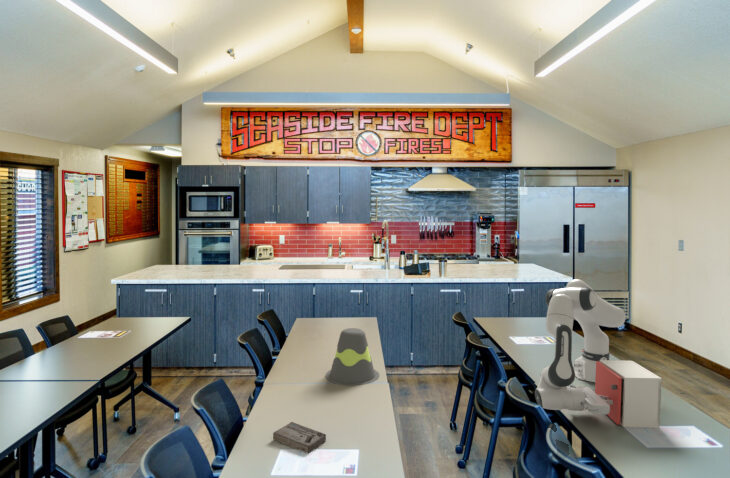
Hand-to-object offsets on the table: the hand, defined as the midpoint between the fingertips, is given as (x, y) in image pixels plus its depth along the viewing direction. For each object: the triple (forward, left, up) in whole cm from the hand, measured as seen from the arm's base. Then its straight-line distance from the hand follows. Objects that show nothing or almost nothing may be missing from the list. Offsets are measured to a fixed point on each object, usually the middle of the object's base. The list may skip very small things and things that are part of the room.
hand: (610, 400), depth 193 cm
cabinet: (-2, +9, -8) cm, 12 cm away
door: (-5, +1, -7) cm, 9 cm away
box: (+2, -127, -9) cm, 127 cm away
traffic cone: (-65, -100, -8) cm, 119 cm away
